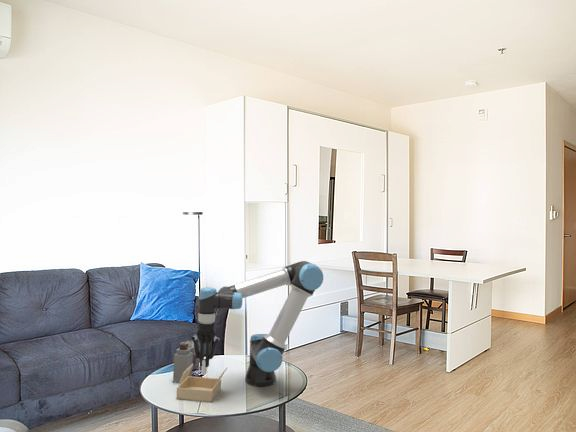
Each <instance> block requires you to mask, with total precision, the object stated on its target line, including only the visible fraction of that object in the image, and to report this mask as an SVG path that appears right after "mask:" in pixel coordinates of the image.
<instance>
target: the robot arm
mask: <svg viewBox="0 0 576 432" xmlns="http://www.w3.org/2000/svg"><path fill="white" fill-rule="evenodd" d="M323 282H324V272H323V270H322V269H321V268H320V267H319V266H318V265H316V264H315V263H311V262H310V261H307V260H306V261H305V260H302V261H298V262H295V263H292V264H289V265H286V266H283V267H282V269H281V270H277V271H274V272H271V273H267V274H264V275H261V276H257V277H254V278H252V279H249V280H246V281H242V282H240V283H235V284H234V285H229V286H222V287H220V288H219V289H218V291H217V289H216V288H215V287H210V286H209V287H208V286H207V287H206V286H205V287H202V288H200V289H199V296H198V297H199V298H198V318H197V319H198V320H197V332H196V334H195V335H193V336H191V341H193V342H194V348H195V353H196V358H199V359H200V363H199V368H200V367H201V375H202V376H205V375H206V374H207V373H208V372H207V369H208V368H209V366H210V360H212V359H213V358H215V357H214V356H215V353H216V350H217V346H218V343H219V341H220V340H221V338H220V337H217V336H216V333H215V330H216V329H215V328H216V327H215V326H216V324H215V321H216V310H239V309H240V310H241V309H242V306H243V299H245V298H248V297H252V296H254V295H259V294H260V293H264V292H267V291H271V290H274V289H276V288H279V287H282V286H283V287H284V286H286V285H288V286H291V289H290V292H289V294H288V296H287V297H286V300H285V301H284V303H283V305H282V307H281V309H280V312H279V313H278V314H277V317H276V320H275V321H274V323H273V325H272V326H271V329H270V331H269V333H255V334H252V335H250V341H249V365H248V368H247V371H246V374H245V379H244V382H245V383H246V384H248V385H251V386H252V387H253V386H254V387H255V386H256V387H267V385H269V386H272V385H274V384H275V383H276V382H277V377H276V373H275V371H277V370H278V369H280V367H281V365H282V363H283V354H284V353H285V350H286V348H287V346H286V344H285V343H286V341H287V340H288V337H289V335H290V334H291V331H292V329H293V327H294V325H295V324H296V322H297V320H298V318H299V315H300V313H301V312H302V310H303V308H304V306H305V303H306V301H308V300H307V299H308V298H309V297H313V295H314V294H315V291H316V290H318V289H319V288H320V287H321V285H322V284H323ZM198 340H199V341H198ZM212 341H213V344H212V348H211V342H212ZM199 342H200V343H199ZM198 343H199V344H200V350H199V345H198ZM275 381H276V382H275ZM274 382H275V383H274ZM273 383H274V384H273ZM271 384H272V385H271Z"/></svg>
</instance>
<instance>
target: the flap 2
mask: <svg viewBox="0 0 576 432" xmlns="http://www.w3.org/2000/svg"><path fill="white" fill-rule="evenodd" d="M227 369H228V367H226V368H225V369H224V371H222V372H221V374H220V376H219V377H218V378H217V379H218V380H217V382H216V383H215V385H216V384H217V383H218V381H219V380H220V379H221V380H222V377H223V375H224V374H225V373H226V371H227ZM215 385H214V386H213V388H214V387H215Z"/></svg>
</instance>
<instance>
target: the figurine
mask: <svg viewBox="0 0 576 432" xmlns="http://www.w3.org/2000/svg"><path fill="white" fill-rule="evenodd" d="M181 343H186V344H188V348H191V350H190V352H193V359H192V364H193V366H192V371H193V370H198V369H200V359H199V358H196V353H195V348H194V342H193V340H186V341H182V342H181ZM198 345H199V351H200V347H201V345H200V343H199V342H198ZM193 368H194V369H193Z"/></svg>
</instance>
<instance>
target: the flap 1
mask: <svg viewBox="0 0 576 432" xmlns="http://www.w3.org/2000/svg"><path fill="white" fill-rule="evenodd" d="M192 366H193V364H192V365H191V366H190V367H189V368H188V369H187V370H186V371H185V372H184V373H183V375H182V377H181V380H180V382H179V383H178V386H179V385H180V384H181V383H182V382H183V381H184V380H185V379H186V378H187V377H188V376H189V374H190V371H191V369H192Z"/></svg>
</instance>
